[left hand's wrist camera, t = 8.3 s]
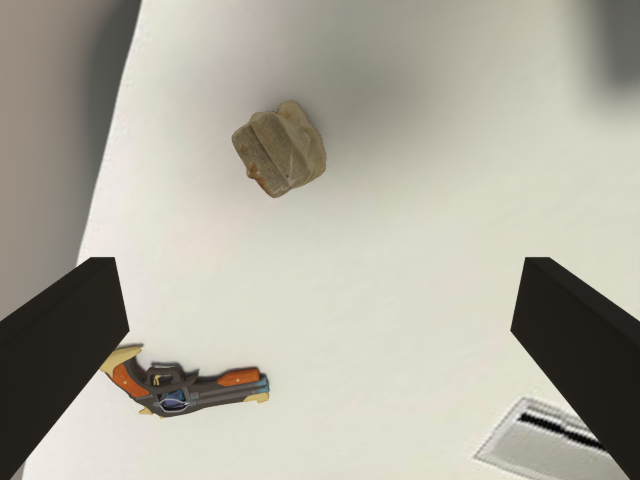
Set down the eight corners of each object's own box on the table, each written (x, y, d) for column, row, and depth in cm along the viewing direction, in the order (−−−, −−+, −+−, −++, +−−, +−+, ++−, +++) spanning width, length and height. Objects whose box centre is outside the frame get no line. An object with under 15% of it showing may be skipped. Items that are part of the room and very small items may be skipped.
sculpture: (303, 91, 36) (293, 90, 22) (336, 161, 39) (346, 199, 25) (249, 120, 37) (207, 136, 23) (285, 186, 39) (265, 237, 25)
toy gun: (89, 361, 44) (115, 434, 47) (253, 332, 44) (270, 406, 47) (101, 349, 47) (125, 419, 49) (255, 322, 47) (272, 392, 49)
